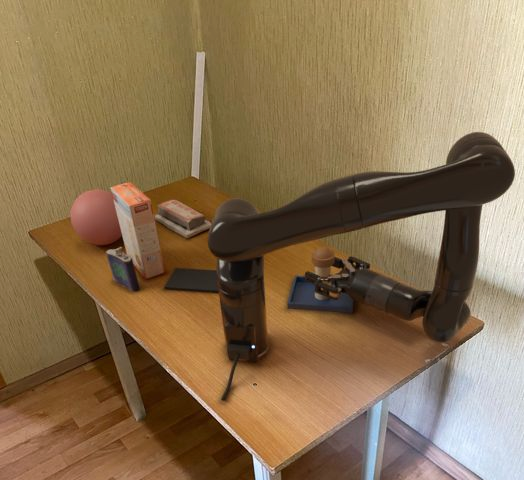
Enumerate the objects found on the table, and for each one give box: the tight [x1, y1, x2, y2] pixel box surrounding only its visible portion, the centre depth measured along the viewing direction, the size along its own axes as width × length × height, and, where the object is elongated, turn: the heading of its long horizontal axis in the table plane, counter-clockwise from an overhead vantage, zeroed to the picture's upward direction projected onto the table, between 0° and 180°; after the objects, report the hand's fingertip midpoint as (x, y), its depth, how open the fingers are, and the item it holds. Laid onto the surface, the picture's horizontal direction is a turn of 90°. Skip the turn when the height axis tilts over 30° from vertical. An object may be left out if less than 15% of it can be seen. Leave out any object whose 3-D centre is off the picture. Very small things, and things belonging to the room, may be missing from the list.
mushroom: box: [311, 246, 336, 300], centre depth 124 cm, size 5×5×13 cm
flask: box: [105, 246, 141, 292], centre depth 134 cm, size 9×3×11 cm, turn 50°
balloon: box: [70, 188, 123, 246], centre depth 152 cm, size 15×20×15 cm
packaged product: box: [154, 199, 211, 240], centre depth 160 cm, size 18×5×10 cm
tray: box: [286, 274, 354, 314], centre depth 128 cm, size 12×15×2 cm
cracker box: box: [110, 181, 166, 280], centre depth 137 cm, size 14×6×21 cm, turn 31°
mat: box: [164, 267, 219, 294], centre depth 136 cm, size 9×20×1 cm, turn 78°
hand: (316, 267), depth 124 cm, fingers open, 8 cm apart
